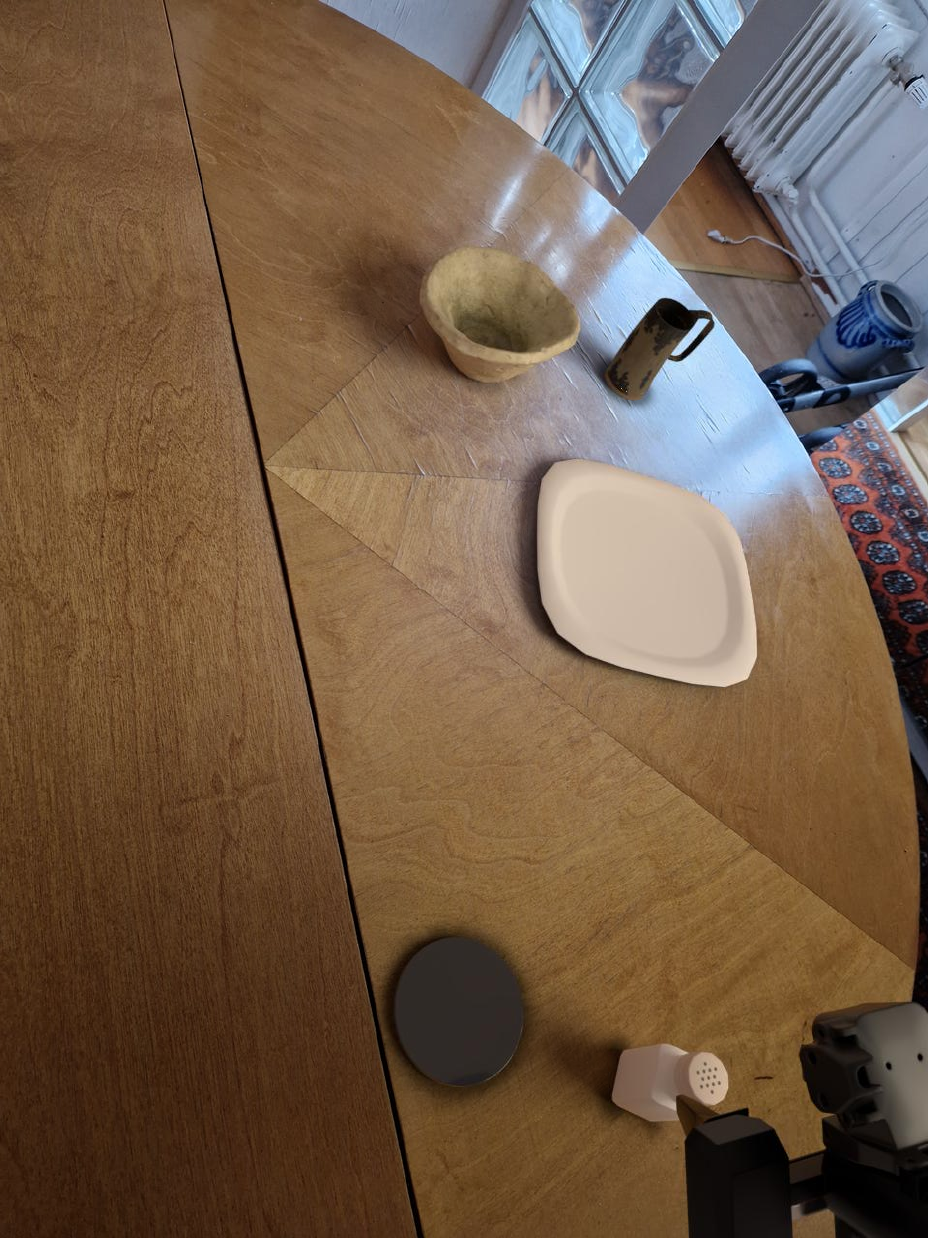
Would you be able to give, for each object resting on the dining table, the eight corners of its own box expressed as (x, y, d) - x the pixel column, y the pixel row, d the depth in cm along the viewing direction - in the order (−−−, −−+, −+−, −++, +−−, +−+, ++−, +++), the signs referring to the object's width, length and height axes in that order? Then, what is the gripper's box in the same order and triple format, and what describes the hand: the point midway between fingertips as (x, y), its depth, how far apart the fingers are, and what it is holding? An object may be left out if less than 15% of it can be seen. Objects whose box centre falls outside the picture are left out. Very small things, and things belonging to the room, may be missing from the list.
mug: (607, 395, 105) (662, 319, 96) (600, 360, 108) (652, 283, 98) (664, 407, 108) (723, 334, 99) (656, 373, 111) (712, 299, 101)
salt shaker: (606, 1103, 66) (677, 1097, 58) (618, 1047, 68) (688, 1035, 60) (652, 1125, 66) (729, 1122, 58) (663, 1069, 68) (738, 1059, 61)
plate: (530, 654, 83) (538, 646, 82) (531, 450, 96) (538, 440, 95) (758, 707, 90) (769, 700, 89) (730, 510, 103) (739, 501, 102)
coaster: (539, 1060, 65) (542, 1059, 65) (415, 1108, 61) (417, 1108, 60) (496, 923, 69) (498, 921, 69) (376, 959, 65) (378, 957, 64)
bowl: (474, 435, 100) (403, 356, 89) (474, 315, 108) (409, 228, 97) (589, 396, 94) (529, 305, 83) (581, 271, 102) (525, 172, 90)
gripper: (1111, 1014, 42) (855, 925, 57) (802, 1101, 35) (600, 975, 50) (1126, 1255, 42) (865, 1104, 56) (817, 1391, 35) (609, 1178, 49)
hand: (743, 1086), depth 53 cm, fingers open, 9 cm apart
